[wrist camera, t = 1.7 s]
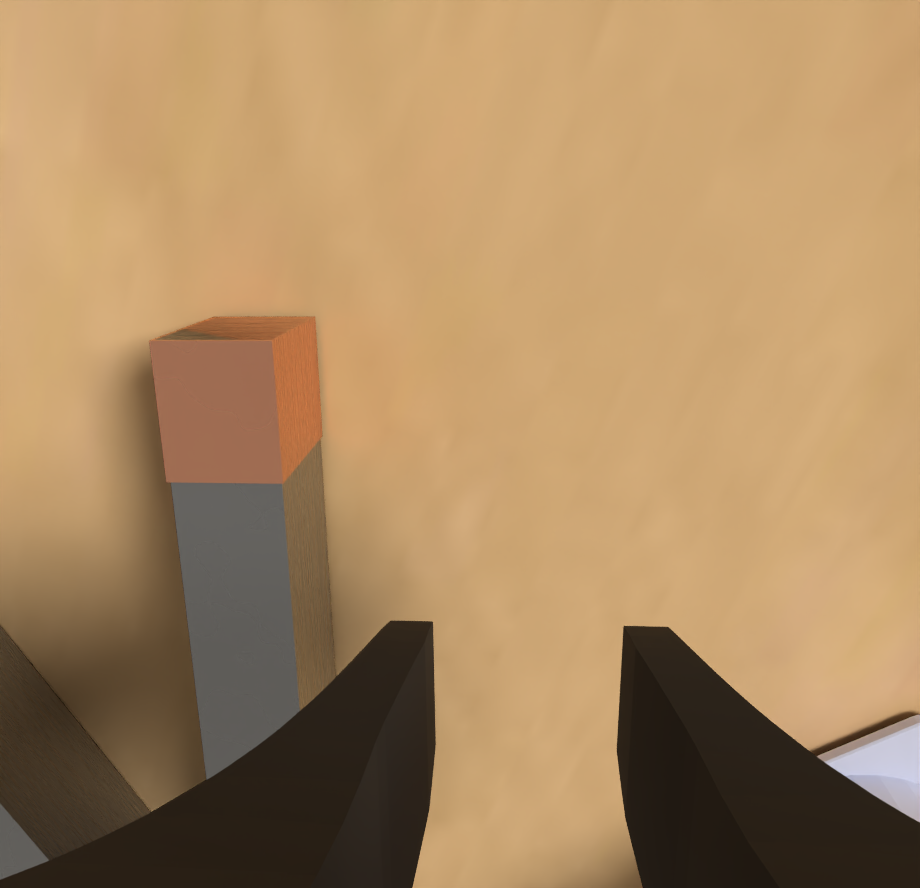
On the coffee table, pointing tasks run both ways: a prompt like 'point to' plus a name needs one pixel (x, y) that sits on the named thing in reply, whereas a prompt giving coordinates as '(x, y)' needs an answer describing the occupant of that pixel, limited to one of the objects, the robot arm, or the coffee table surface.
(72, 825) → the tongs fixed arm
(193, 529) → the bar
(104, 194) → the coffee table surface
